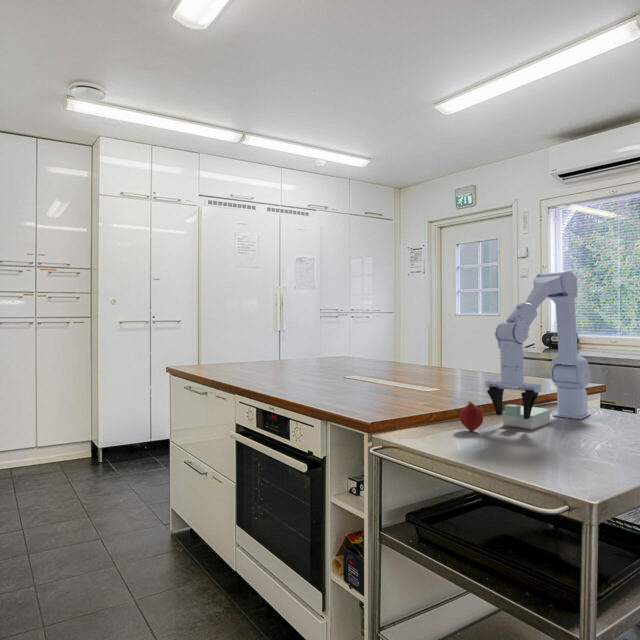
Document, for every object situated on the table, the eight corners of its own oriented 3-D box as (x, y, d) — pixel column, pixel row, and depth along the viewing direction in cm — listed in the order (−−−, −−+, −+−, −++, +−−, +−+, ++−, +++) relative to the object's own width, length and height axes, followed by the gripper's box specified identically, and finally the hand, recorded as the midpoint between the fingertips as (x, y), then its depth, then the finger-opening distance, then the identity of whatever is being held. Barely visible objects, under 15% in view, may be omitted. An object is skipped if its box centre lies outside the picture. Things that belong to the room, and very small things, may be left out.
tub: (522, 418, 145) (522, 408, 145) (550, 422, 139) (550, 412, 139) (503, 425, 136) (503, 414, 136) (532, 429, 131) (531, 418, 131)
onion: (480, 428, 133) (479, 399, 133) (485, 433, 127) (484, 403, 127) (458, 428, 133) (458, 399, 133) (462, 433, 128) (462, 403, 128)
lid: (521, 411, 145) (521, 396, 145) (551, 415, 139) (551, 400, 139) (494, 420, 133) (494, 404, 133) (525, 425, 127) (525, 408, 127)
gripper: (479, 365, 134) (480, 415, 134) (532, 369, 124) (533, 422, 124) (491, 363, 139) (492, 411, 139) (543, 366, 128) (544, 418, 128)
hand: (512, 416), depth 132 cm, fingers open, 7 cm apart
